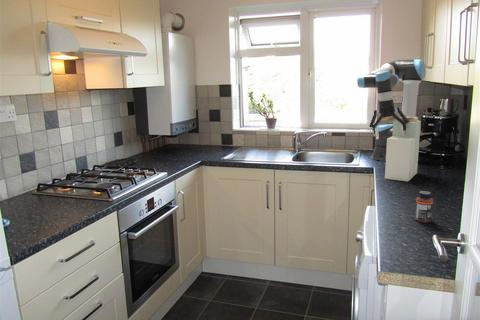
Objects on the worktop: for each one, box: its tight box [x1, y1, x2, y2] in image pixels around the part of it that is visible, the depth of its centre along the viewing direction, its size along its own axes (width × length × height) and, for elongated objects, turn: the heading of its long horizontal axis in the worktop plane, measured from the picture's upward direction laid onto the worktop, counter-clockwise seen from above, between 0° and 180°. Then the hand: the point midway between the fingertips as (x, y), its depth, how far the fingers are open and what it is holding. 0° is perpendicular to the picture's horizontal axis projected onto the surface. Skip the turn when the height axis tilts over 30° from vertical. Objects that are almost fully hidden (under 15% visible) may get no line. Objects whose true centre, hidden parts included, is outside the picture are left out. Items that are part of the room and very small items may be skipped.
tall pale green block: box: [384, 120, 421, 182], centre depth 226 cm, size 12×22×30 cm, turn 146°
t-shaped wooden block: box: [381, 116, 419, 122], centre depth 230 cm, size 19×6×2 cm, turn 56°
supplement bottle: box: [414, 190, 434, 224], centre depth 157 cm, size 6×6×11 cm
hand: (390, 138), depth 227 cm, fingers open, 13 cm apart
